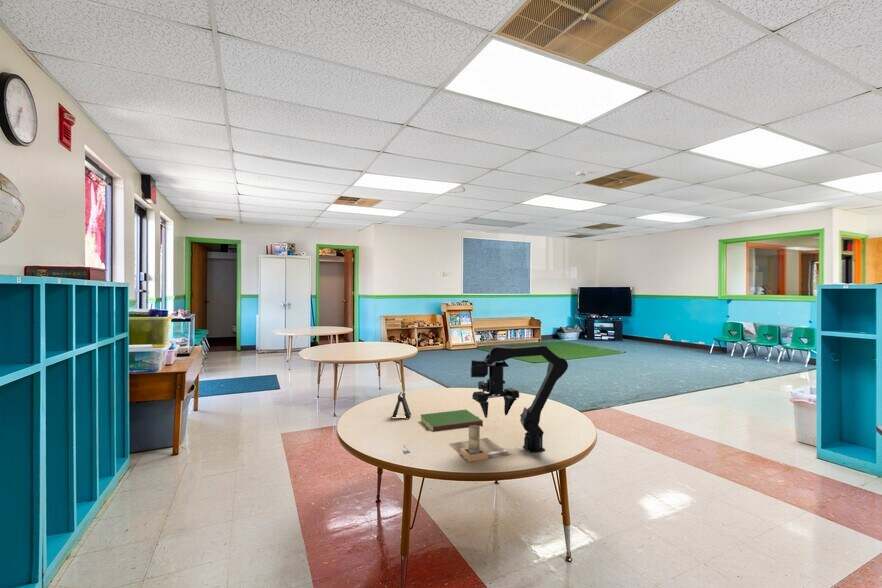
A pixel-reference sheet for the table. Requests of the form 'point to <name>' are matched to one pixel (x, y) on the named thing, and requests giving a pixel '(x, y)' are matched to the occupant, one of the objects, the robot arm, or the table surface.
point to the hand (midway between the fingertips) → (495, 416)
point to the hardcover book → (450, 420)
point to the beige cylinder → (474, 439)
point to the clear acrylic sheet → (484, 444)
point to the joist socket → (475, 457)
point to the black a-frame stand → (405, 406)
